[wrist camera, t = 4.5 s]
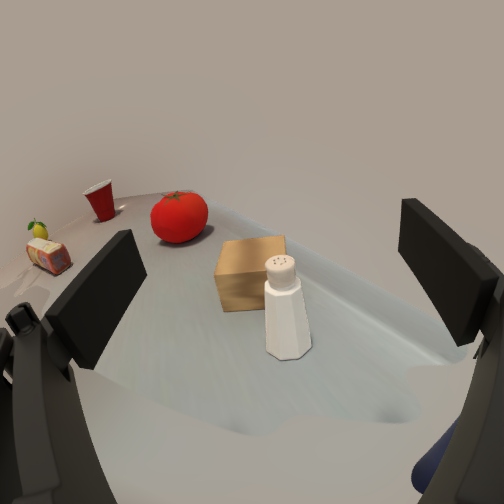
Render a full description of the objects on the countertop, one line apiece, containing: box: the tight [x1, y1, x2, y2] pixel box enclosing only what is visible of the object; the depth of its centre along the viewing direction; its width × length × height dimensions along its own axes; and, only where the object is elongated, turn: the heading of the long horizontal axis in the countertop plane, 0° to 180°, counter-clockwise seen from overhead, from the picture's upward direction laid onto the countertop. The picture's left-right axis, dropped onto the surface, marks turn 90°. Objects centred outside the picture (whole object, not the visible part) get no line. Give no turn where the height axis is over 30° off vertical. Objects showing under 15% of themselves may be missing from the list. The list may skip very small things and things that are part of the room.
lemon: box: [28, 222, 48, 240], centre depth 76 cm, size 7×6×10 cm
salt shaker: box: [265, 255, 312, 360], centre depth 29 cm, size 5×5×11 cm
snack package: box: [26, 237, 71, 274], centre depth 61 cm, size 21×7×7 cm, turn 62°
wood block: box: [214, 235, 287, 312], centre depth 40 cm, size 9×9×6 cm
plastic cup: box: [83, 180, 115, 222], centre depth 84 cm, size 11×11×12 cm
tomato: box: [150, 191, 208, 243], centre depth 59 cm, size 11×13×10 cm
